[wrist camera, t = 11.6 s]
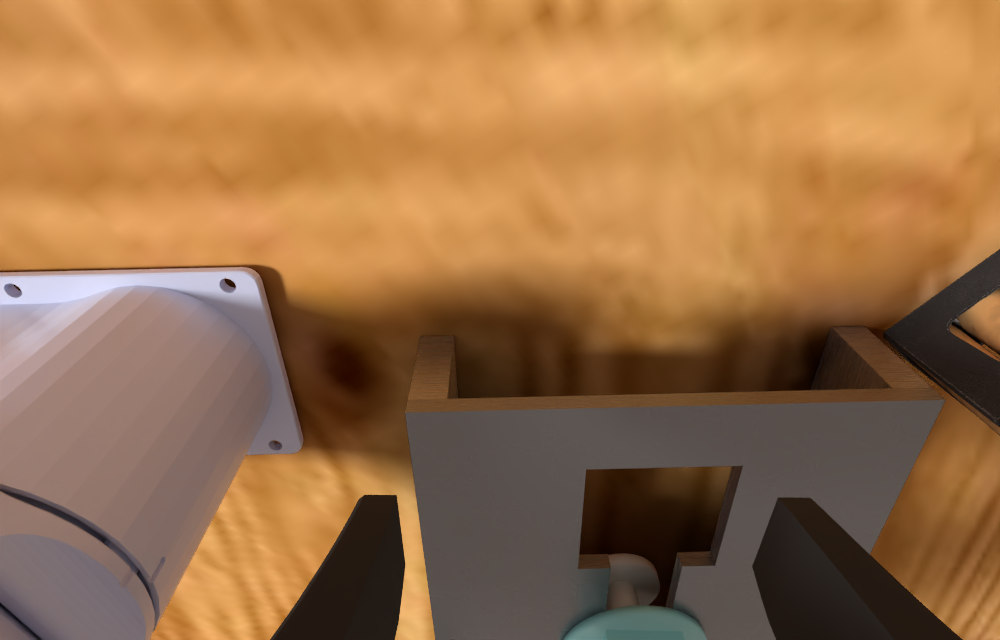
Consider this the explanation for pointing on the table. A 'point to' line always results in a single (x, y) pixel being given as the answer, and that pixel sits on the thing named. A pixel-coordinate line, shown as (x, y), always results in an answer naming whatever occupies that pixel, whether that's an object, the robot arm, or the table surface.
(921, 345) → the ammunition clip
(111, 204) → the table surface
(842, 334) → the keyhole plate
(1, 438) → the robot arm
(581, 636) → the peg
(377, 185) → the table surface
